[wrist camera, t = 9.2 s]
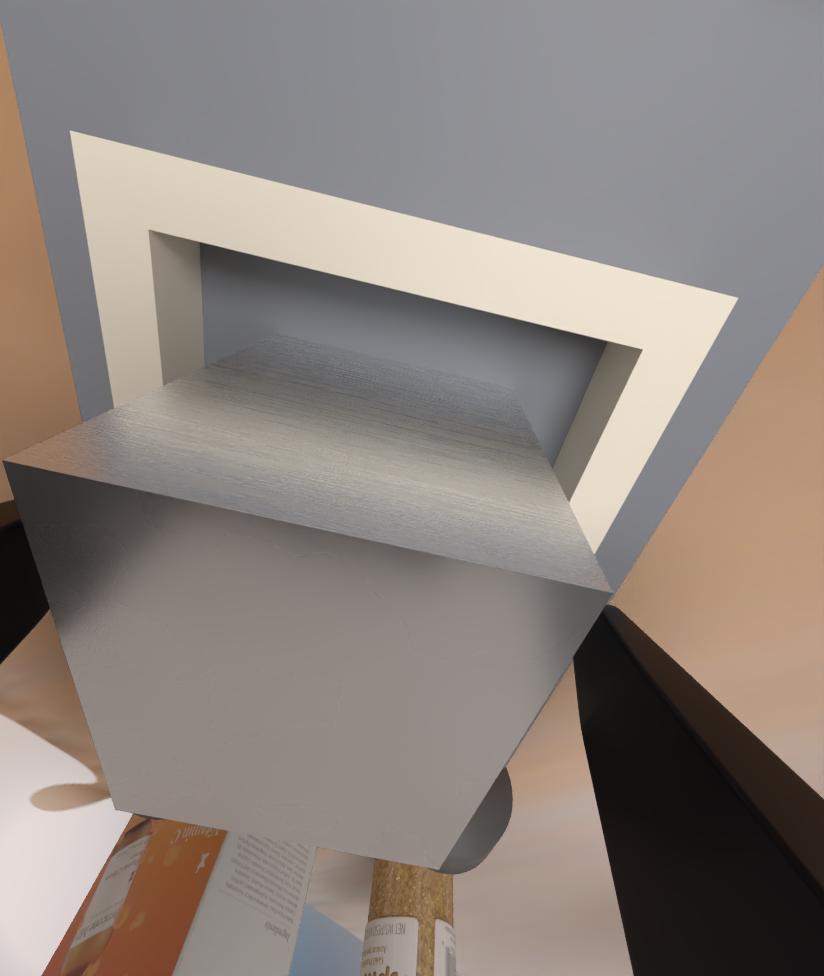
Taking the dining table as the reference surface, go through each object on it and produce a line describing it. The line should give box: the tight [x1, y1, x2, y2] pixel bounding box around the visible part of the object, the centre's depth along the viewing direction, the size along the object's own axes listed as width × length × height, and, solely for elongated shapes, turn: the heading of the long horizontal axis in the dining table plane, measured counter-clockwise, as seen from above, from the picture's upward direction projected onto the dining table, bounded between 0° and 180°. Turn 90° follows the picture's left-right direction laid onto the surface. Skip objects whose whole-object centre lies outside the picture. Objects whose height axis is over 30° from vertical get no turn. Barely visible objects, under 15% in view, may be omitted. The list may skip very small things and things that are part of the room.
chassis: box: [0, 0, 824, 874], centre depth 9 cm, size 14×25×4 cm, turn 168°
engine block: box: [2, 333, 613, 870], centre depth 7 cm, size 5×6×6 cm
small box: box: [42, 814, 317, 976], centre depth 17 cm, size 8×6×10 cm
